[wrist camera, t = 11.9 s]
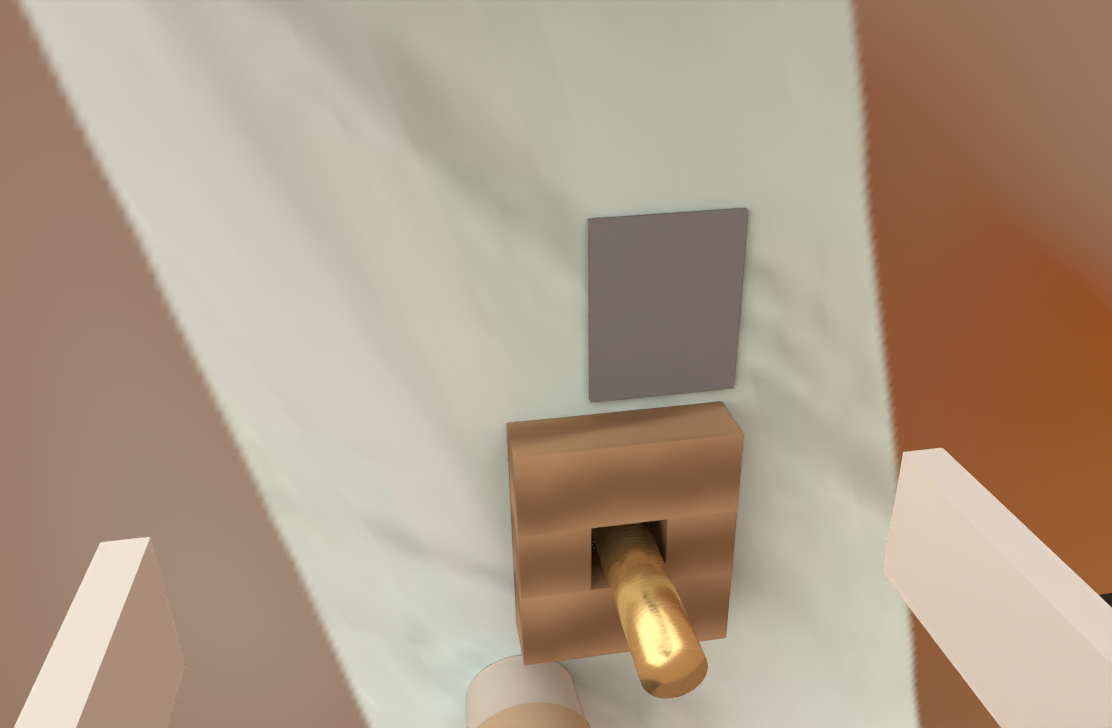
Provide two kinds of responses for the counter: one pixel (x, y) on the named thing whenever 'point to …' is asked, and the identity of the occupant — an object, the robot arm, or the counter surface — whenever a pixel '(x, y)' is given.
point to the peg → (650, 611)
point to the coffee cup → (523, 697)
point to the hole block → (619, 519)
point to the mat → (664, 302)
